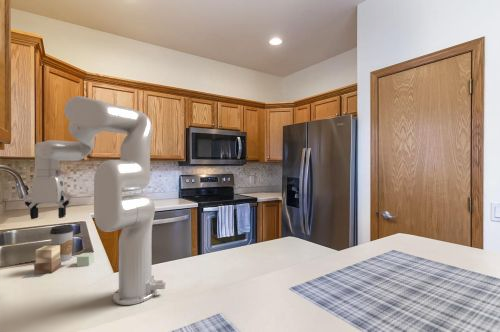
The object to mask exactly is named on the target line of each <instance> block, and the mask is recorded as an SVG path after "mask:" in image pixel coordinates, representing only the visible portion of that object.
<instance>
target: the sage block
mask: <svg viewBox="0 0 500 332" xmlns="http://www.w3.org/2000/svg"><path fill="white" fill-rule="evenodd" d="M93 263H95V253H94V252H83V253H81V254H79V255H77V256H76V267H77V268H78V267H79V268H81V267H82V268H83V267H89V266H91V265H92V264H93Z"/></svg>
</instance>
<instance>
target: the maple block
mask: <svg viewBox="0 0 500 332" xmlns="http://www.w3.org/2000/svg"><path fill="white" fill-rule="evenodd" d="M59 258H60V245H52V244H51V245H43V246H42V247H40V248H37V249H35V263H36V264H37V263H52V262H54V261H55V260H57V259H59Z"/></svg>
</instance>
